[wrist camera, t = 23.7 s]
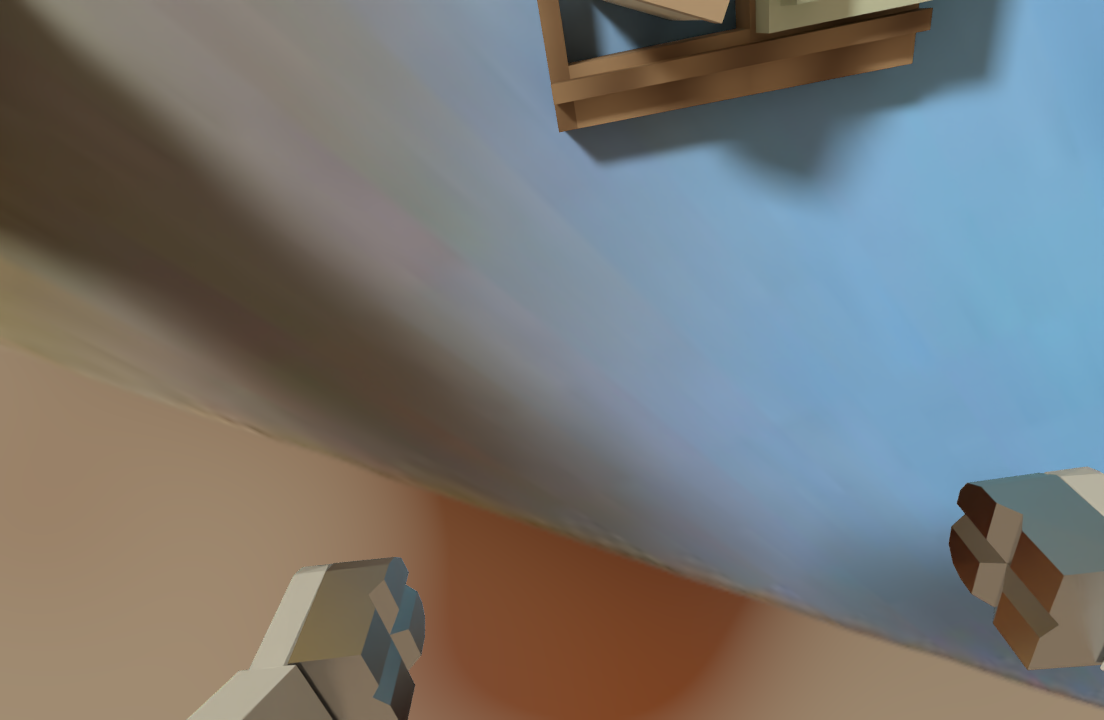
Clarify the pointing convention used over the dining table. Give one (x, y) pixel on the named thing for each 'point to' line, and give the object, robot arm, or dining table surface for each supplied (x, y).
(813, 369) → the dining table surface
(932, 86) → the dining table surface
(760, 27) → the cover
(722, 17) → the tall tan square prism
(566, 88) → the board
